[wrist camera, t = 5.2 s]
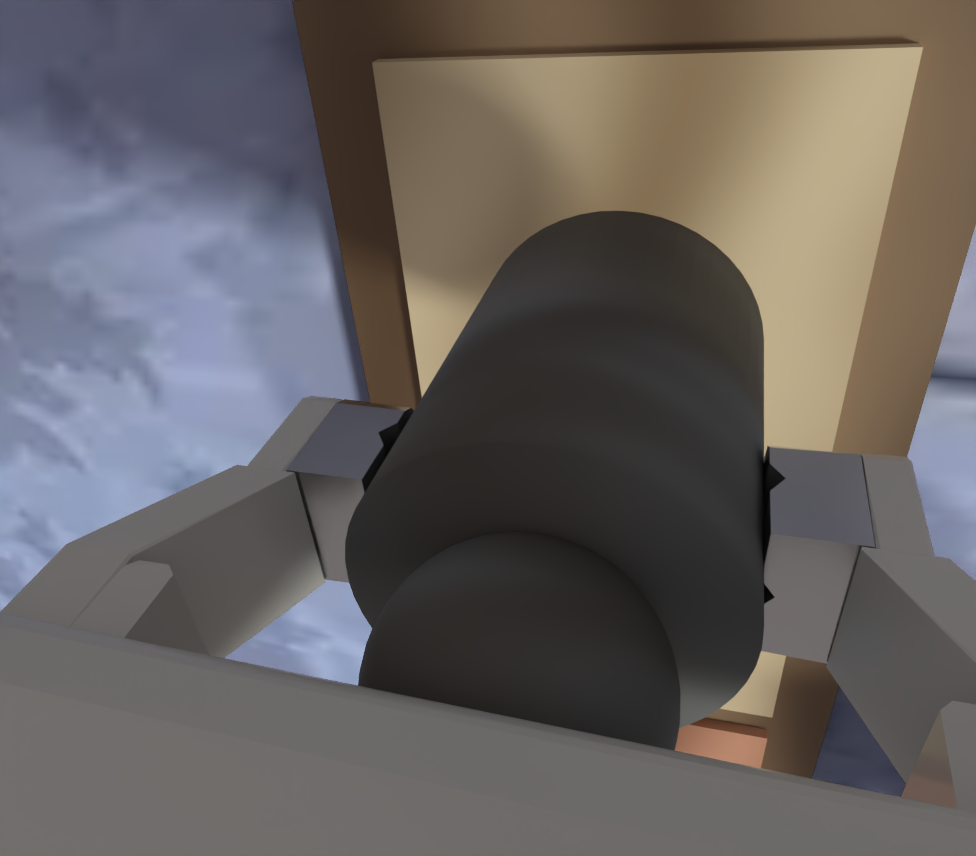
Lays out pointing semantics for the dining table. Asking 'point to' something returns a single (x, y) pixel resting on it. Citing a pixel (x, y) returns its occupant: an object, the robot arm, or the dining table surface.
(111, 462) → the dining table surface
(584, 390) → the pawn
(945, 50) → the game board
